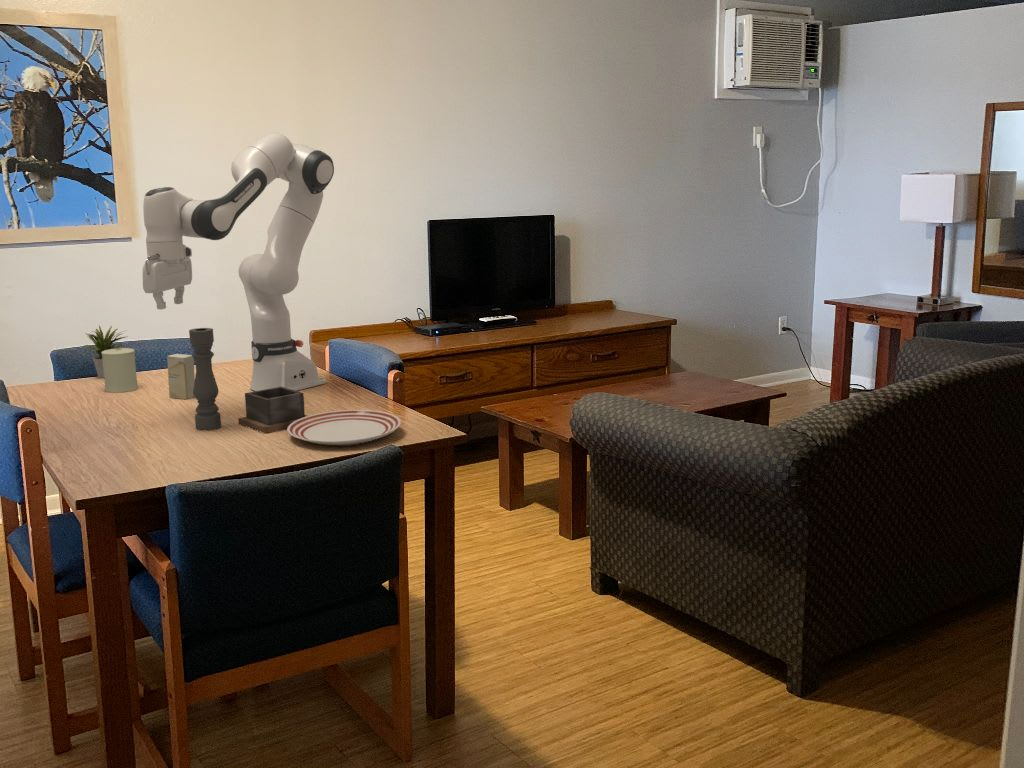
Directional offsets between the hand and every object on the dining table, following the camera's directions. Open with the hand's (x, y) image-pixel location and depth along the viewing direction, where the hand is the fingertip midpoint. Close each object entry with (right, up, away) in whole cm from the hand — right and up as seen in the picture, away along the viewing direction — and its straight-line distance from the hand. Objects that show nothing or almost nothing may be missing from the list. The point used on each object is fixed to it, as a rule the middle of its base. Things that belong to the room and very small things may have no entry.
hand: (170, 306), depth 259 cm
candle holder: (+11, -31, -5) cm, 34 cm away
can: (-28, -22, +39) cm, 52 cm away
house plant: (-39, -18, +55) cm, 70 cm away
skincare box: (-6, -24, +28) cm, 37 cm away
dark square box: (+28, -30, -2) cm, 41 cm away
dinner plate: (+47, -33, -13) cm, 59 cm away
